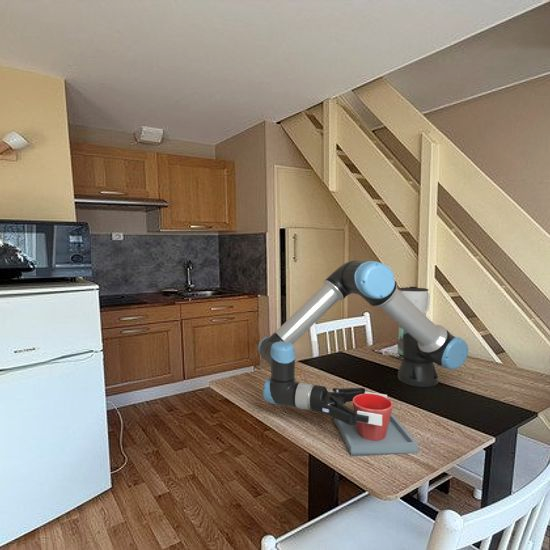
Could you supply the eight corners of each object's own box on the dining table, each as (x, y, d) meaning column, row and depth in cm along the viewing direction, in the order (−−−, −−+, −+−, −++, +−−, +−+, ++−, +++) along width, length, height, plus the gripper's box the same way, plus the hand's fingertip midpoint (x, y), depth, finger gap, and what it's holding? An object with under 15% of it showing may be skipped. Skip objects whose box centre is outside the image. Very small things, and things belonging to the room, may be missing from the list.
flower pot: (386, 448, 92) (386, 413, 92) (346, 436, 98) (347, 403, 98) (396, 430, 101) (396, 398, 101) (359, 421, 107) (360, 390, 107)
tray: (390, 419, 110) (390, 411, 109) (418, 452, 92) (418, 443, 92) (334, 421, 108) (334, 414, 108) (351, 456, 91) (351, 447, 90)
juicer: (411, 364, 162) (413, 289, 159) (389, 356, 173) (390, 286, 171) (437, 357, 171) (439, 286, 168) (414, 350, 183) (416, 284, 180)
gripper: (323, 393, 118) (388, 404, 110) (299, 428, 95) (379, 445, 87) (323, 372, 118) (388, 380, 109) (299, 402, 95) (379, 416, 86)
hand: (384, 409), depth 98 cm, fingers open, 13 cm apart
